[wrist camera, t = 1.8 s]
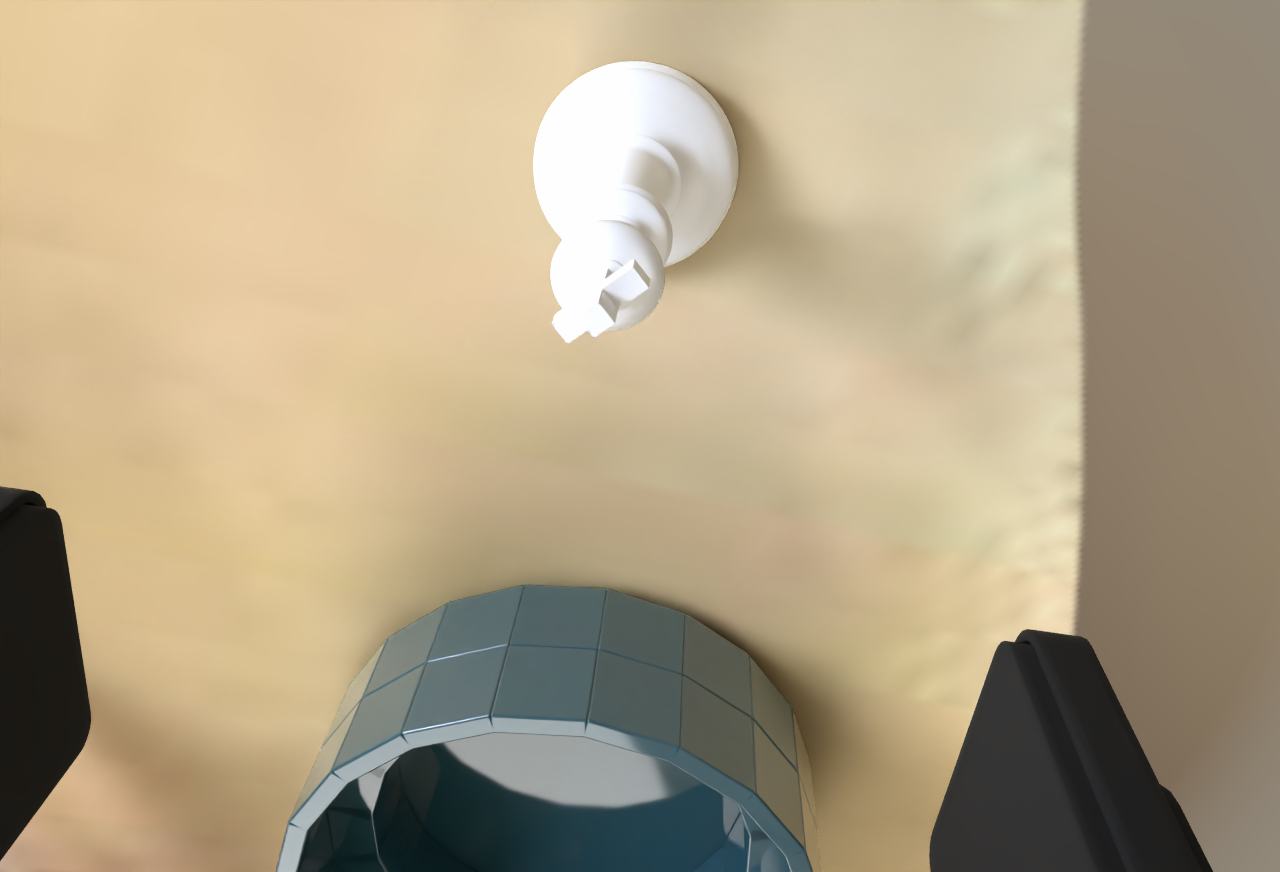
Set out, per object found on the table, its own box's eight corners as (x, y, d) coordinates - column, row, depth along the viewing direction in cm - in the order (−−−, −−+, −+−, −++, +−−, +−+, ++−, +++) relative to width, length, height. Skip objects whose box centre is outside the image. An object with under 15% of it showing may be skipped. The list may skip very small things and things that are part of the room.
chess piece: (778, 190, 26) (812, 355, 17) (616, 302, 27) (570, 505, 19) (657, 14, 24) (626, 95, 15) (492, 144, 26) (377, 285, 17)
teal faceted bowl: (262, 787, 36) (185, 943, 31) (506, 484, 30) (462, 615, 25) (622, 980, 40) (609, 1150, 34) (906, 745, 34) (942, 907, 28)
